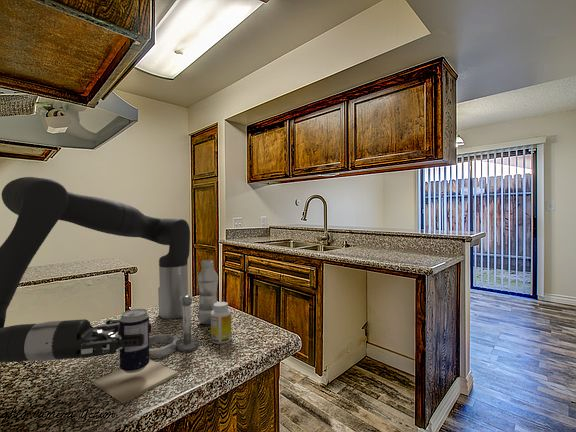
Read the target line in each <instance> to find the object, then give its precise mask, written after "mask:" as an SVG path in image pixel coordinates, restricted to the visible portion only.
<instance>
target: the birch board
mask: <svg viewBox="0 0 576 432" xmlns="http://www.w3.org/2000/svg"><path fill="white" fill-rule="evenodd" d="M176 376H178V371H176V370H173V369H172V368H169V367H167V366H165V365H163V364H161V363H158V362H156V361H154V360H152V359H151V358H149V363H148V364H147V365H146V367H145V368H144V369H143V370H141V371H139V372H135V373H126V372H124V370H122V369H121V368H120V369H118V370H115V371H113V372H111V373H109V374H107V375H104V376H102V377H99V378H96V379H95V380H93V381H92V384H93V385H94V386H95V387H97V388H98V389H100V390H101V391H103V392H105V393H107V394H108V395H109V396H111V397H113V398H114V399H116V400H117V401H119V402H120V403H121V404H124V405H125V404H126V403H127V402H129V401H131V400H134V399H135V398H136V397H138V396H140V395H142V394H144V393H146V392H147V391H150V390H151V389H154V388H156V387H157V386H159V385H161V384H163V383H165V382H166V381H168V380H170V379H173V378H174V377H176Z"/></svg>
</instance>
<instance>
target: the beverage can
mask: <svg viewBox="0 0 576 432" xmlns="http://www.w3.org/2000/svg"><path fill="white" fill-rule="evenodd" d="M119 320H120V321H119V326H120V335H123V337H124V335H134V334H143V335H144V344H143V345H142V346H133V347H123V348H122V349H119V368H120V369H122V370H124V372H126V373H135V372H139V371H141V370H143V369H144V368H145V367H146V365H147V364H148V363H149V359H150V358H149V349H150V345H149V337H150V333H149V323H150V316H149V314H148V311H147V310H146V309H144V308H135V309H130V310H126V311H124V312H122V313H121V317H120V319H119Z"/></svg>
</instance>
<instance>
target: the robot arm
mask: <svg viewBox="0 0 576 432" xmlns="http://www.w3.org/2000/svg"><path fill="white" fill-rule="evenodd" d="M1 200H2V203H3V204H4V206H5V207H6V208H7V209H8V210H9V211H11V212H12V213H13V214H15V215H16V216H17V219H16V221H15V223H14V227H13V228H12V230H11V232H10V234H9V235H8V236H7V238H5V241H4V242H3V243H2V244H1V245H0V363H18V362H29V361H32V362H33V361H39V362H45V361H46V362H47V361H56V360H57V361H59V360H71V359H73V360H74V359H80V358H81V359H87V358H93V357H100V356H101V357H102V356H107V355H114V354H116V353H117V352H118V351H117V350H119V351H120V349H122V348H123V347H133V346H142V345H143V344H144V335H143V334H134V335H124V337H123V335H120V326H119V321H120V319H108V320H106V321H105V323H104V324H99V325H97V326H92V324H91V322H90V321H89V320H88V319H87V318H86V319H85V318H83V319H70V320H69V319H68V320H54V321H45V322H39V323H23V324H14V325H9V326H5V324H6V323H5V322H6V319H7V318H6V317H7V312H8V311H7V310H8V308H9V306H10V304H11V302H12V300H13V298H14V296H15V294H16V291H17V290H18V288H19V285H20V283H21V280H22V279H23V277H24V275H25V273H26V271H27V270H28V267H29V265H30V264H31V262H32V260H33V258H34V257H35V256H36V254H37V252H38V250H40V248H41V246H42V244H43V243H44V242H45V241H46V239H47V237H49V234H50V233H51V231H52V230H53V228H54V227H55V226H56V224H57V223H58V222H59V221H63V222H68V223H70V224H74V225H77V226H79V227H82V228H83V227H84V228H85V229H89V230H94V231H96V232H99V233H100V232H101V233H104V234H108V235H114V236H119V237H127V238H140V239H141V238H142V239H144V240H147V241H151V242H154V243H156V244H159V245H163V246H169V247H168V252H167V254H164V255H163V256H161V257H159V259H158V274H159V277H158V279H159V281H158V282H159V286H158V289H157V291H158V292H157V297H158V298H157V299H158V315H159V317H160V318H161V319H166V320H172V319H173V320H174V319H179V318H183V305H182V304H181V299H182V298H183V297H184V296H189V272H188V270H189V267H188V263H189V261H188V260H189V257H190V248H191V247H190V246H191V245H190V244H191V230H190V226H189V223H188V222H187V221H186V219H183V218H162V217H161V218H159V217H152V216H150V215H149V216H148V215H145V214H144V213H142V211H140V210H139V209H137V208H135V207H134V206H132V205H130V204H125V203H123V202H120V201H115V200H111V199H108V198H104V197H103V198H102V197H96V196H89V195H83V194H78V193H74V192H71V191H67V188H65V186H64V185H63V184H62V183H60V182H58V181H56V180H54V179H50V178H49V179H48V178H42V177H37V176H34V177H33V176H26V177H25V176H24V177H19V178H15V179H13V180H11V181H9V182H8V183H6V185H4V187H3V188H2V191H1ZM151 332H152V324H151V322H149V334H151Z"/></svg>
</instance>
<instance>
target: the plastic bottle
mask: <svg viewBox="0 0 576 432" xmlns="http://www.w3.org/2000/svg"><path fill="white" fill-rule="evenodd" d="M214 266H215V265H214V260H213V259H204V260H201V266H200V267H201V268H202V269H200V272H199V273H198V274H197V285H198V291H199V304H198V311H197V319H198V322H199V323H200V324H202V325H211V312H212V311H213V305H214V304H215V303H217V302H218V299H217V294H218V284H219V275H218V272H217V271H216V270H215V269H214Z"/></svg>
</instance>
